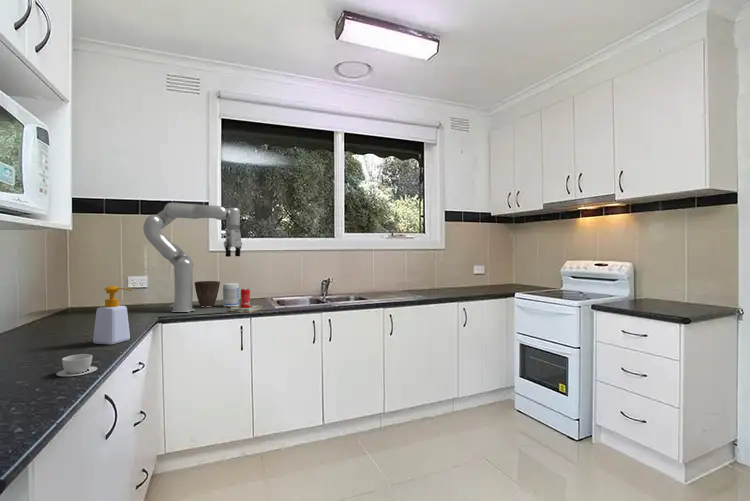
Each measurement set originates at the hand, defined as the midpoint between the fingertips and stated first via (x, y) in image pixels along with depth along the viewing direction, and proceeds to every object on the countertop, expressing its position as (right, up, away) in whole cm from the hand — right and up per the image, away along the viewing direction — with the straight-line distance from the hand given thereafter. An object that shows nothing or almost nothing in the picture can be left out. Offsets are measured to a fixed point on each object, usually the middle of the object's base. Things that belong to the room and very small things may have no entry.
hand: (233, 256), depth 249 cm
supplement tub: (-5, -33, +12) cm, 35 cm away
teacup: (-3, -33, -126) cm, 131 cm away
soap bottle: (-15, -33, -88) cm, 95 cm away
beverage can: (+9, -32, -4) cm, 33 cm away
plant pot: (-19, -32, +9) cm, 39 cm away
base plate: (+9, -32, -4) cm, 34 cm away
